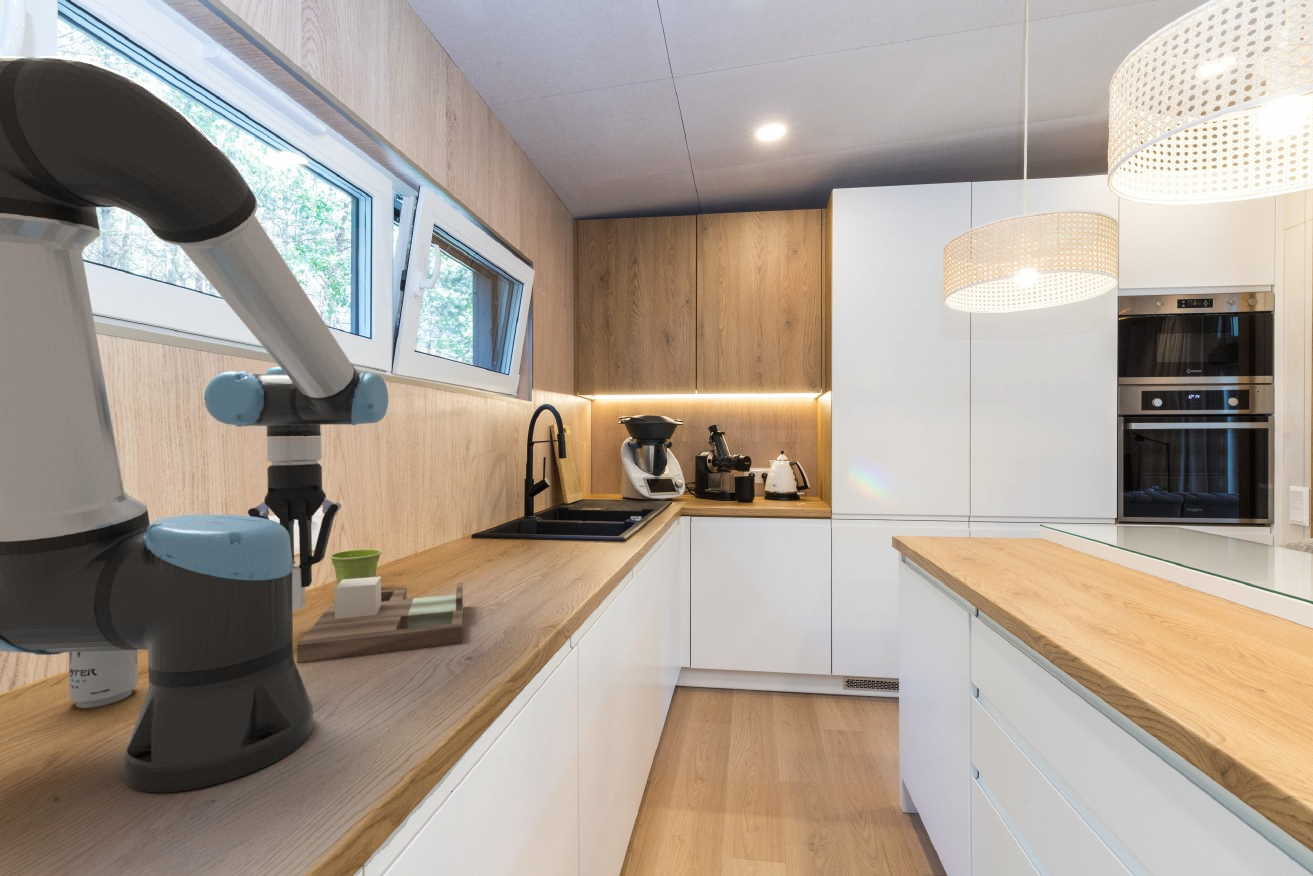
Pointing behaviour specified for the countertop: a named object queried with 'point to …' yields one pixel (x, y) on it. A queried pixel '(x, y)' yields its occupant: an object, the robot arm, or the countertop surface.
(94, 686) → the energy drink can
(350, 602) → the block
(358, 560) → the plant pot
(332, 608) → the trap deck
